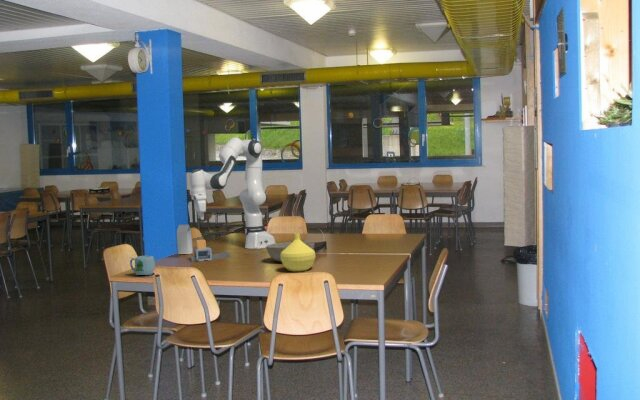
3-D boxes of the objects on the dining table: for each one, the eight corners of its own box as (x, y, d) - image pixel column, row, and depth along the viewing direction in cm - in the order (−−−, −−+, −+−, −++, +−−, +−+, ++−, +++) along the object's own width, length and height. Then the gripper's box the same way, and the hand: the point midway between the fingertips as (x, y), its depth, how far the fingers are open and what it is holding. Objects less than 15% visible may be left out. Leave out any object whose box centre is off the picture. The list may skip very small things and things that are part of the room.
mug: (124, 276, 359) (123, 258, 358) (137, 272, 369) (135, 254, 368) (148, 277, 353) (146, 258, 352) (160, 273, 363) (159, 254, 363)
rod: (228, 257, 410) (228, 252, 409) (230, 258, 407) (229, 253, 406) (191, 261, 402) (190, 256, 401) (192, 262, 399) (191, 257, 399)
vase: (287, 266, 362) (286, 231, 361) (320, 266, 357) (318, 231, 356) (276, 273, 345) (274, 236, 344) (310, 273, 340) (308, 235, 338)
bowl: (304, 265, 365) (303, 247, 365) (258, 264, 375) (257, 247, 374) (321, 256, 391) (320, 239, 390) (278, 256, 401) (277, 240, 400)
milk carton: (188, 254, 427) (186, 225, 426) (178, 255, 429) (176, 225, 427) (192, 253, 434) (191, 223, 433) (182, 253, 436) (180, 224, 434)
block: (204, 247, 406) (204, 239, 405) (206, 248, 401) (205, 240, 400) (196, 248, 404) (196, 240, 404) (197, 249, 399) (197, 241, 399)
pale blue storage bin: (209, 258, 409) (208, 246, 408) (212, 260, 400) (211, 248, 400) (194, 259, 406) (193, 248, 405) (196, 261, 397) (196, 250, 397)
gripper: (191, 195, 414) (193, 218, 415) (196, 197, 395) (198, 220, 396) (201, 194, 416) (203, 216, 417) (206, 196, 397) (208, 219, 398)
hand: (200, 218), depth 406 cm, fingers open, 8 cm apart
